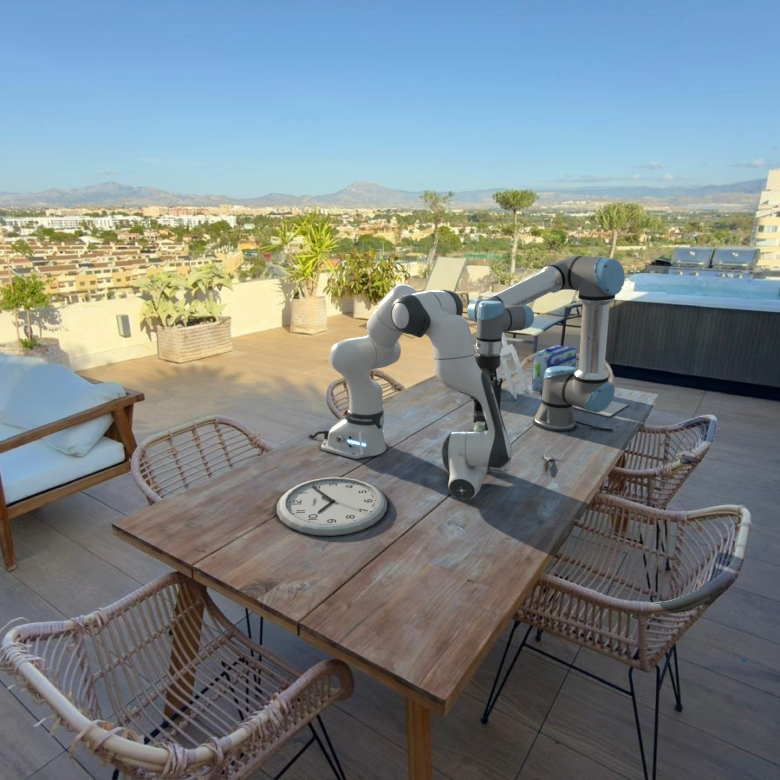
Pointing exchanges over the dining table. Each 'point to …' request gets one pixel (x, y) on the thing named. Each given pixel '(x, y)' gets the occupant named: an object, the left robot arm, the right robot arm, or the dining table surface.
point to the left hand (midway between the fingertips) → (481, 448)
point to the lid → (479, 415)
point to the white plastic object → (508, 354)
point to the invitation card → (608, 408)
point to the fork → (547, 459)
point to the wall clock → (331, 506)
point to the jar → (479, 426)
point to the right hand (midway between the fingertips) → (483, 425)
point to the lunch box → (551, 363)
